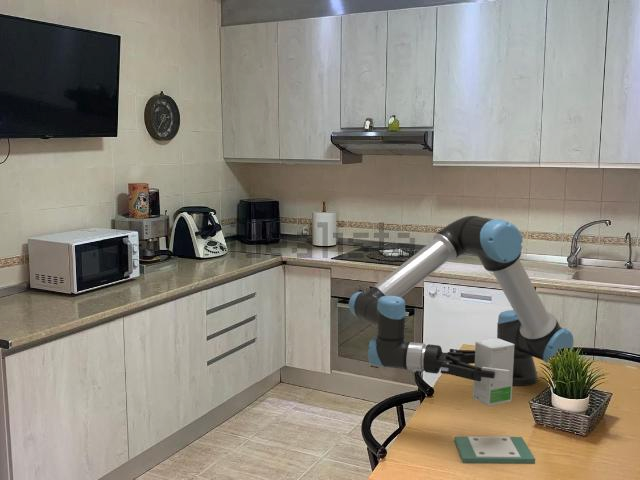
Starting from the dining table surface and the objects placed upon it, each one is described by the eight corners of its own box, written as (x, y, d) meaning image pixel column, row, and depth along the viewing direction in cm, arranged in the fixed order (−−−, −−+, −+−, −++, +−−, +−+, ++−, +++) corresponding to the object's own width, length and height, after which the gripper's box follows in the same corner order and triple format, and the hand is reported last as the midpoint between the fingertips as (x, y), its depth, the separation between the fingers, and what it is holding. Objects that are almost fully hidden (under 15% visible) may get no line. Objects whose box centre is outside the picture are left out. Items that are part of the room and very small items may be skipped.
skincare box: (487, 407, 166) (490, 348, 164) (470, 397, 172) (473, 341, 170) (512, 401, 170) (516, 343, 168) (495, 392, 176) (498, 336, 173)
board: (462, 462, 164) (463, 457, 164) (454, 440, 176) (454, 435, 175) (534, 463, 163) (535, 457, 163) (521, 441, 175) (521, 435, 175)
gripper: (433, 358, 187) (513, 368, 179) (415, 385, 166) (505, 398, 158) (434, 333, 186) (515, 342, 178) (416, 357, 165) (507, 369, 157)
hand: (510, 368), depth 168 cm, fingers closed on skincare box, 10 cm apart
